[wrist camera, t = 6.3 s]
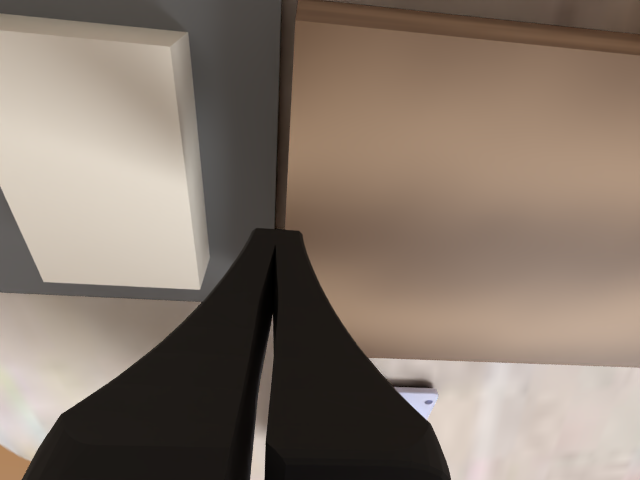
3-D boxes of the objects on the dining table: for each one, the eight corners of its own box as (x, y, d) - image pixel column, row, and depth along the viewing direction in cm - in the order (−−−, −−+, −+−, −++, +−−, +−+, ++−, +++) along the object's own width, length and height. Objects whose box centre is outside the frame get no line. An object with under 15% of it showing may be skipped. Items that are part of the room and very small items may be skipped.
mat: (272, 298, 20) (272, 305, 19) (-3, 285, 19) (-8, 292, 18) (283, -45, 11) (282, -44, 11) (-220, -103, 10) (-237, -104, 10)
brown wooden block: (665, 304, 21) (729, 370, 18) (283, 285, 19) (278, 354, 16) (885, 60, 13) (1063, 98, 10) (298, -3, 12) (295, 20, 9)
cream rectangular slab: (43, 281, 15) (68, 249, 17) (200, 289, 16) (209, 257, 17) (-74, 23, 10) (-22, 11, 12) (170, 46, 10) (188, 32, 12)
